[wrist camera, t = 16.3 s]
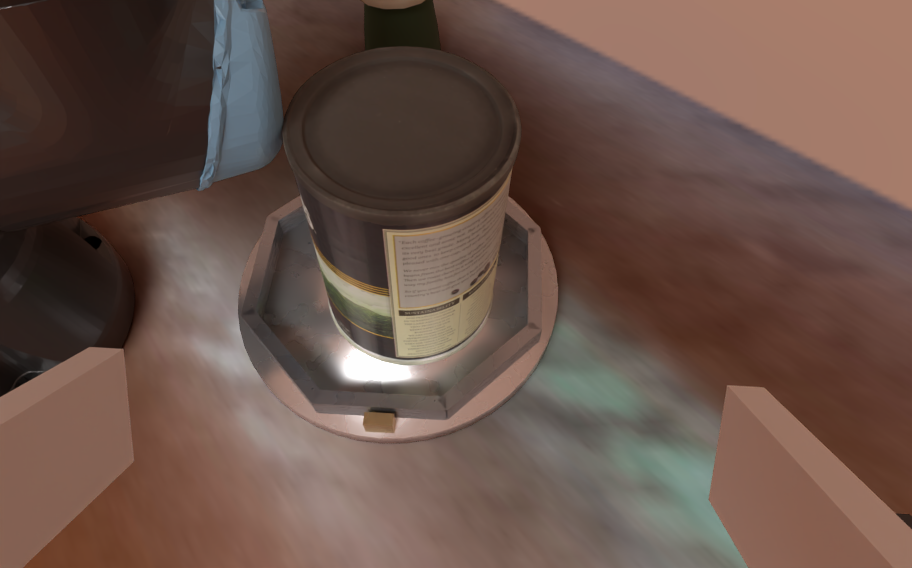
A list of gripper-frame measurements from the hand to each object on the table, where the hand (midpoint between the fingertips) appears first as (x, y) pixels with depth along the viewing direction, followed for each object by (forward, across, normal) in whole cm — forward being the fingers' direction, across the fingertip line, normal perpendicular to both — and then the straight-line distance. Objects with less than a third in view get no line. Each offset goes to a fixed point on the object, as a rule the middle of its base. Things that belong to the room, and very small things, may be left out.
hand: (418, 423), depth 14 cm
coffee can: (+25, -3, -4) cm, 26 cm away
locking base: (+26, -4, -4) cm, 27 cm away
